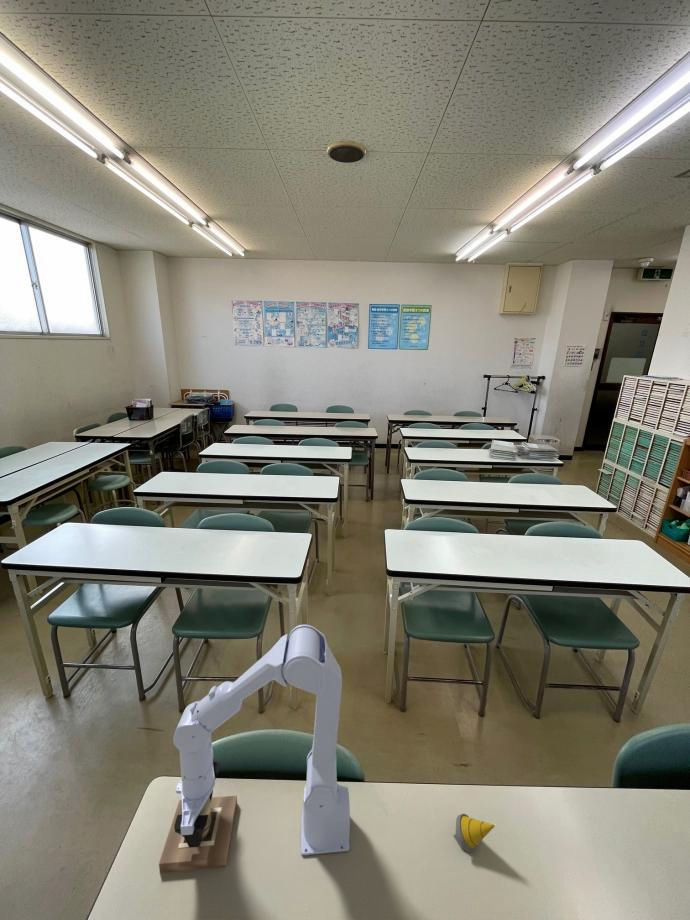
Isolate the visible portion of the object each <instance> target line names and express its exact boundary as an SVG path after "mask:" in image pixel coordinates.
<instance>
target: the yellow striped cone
mask: <svg viewBox="0 0 690 920" xmlns="http://www.w3.org/2000/svg"><path fill="white" fill-rule="evenodd" d="M495 827H496V825H495V824H492V823H489V822H485V821H482V820H479V819H475V818H473V817H470V816H469V815H468V814H466V813H461V814H458V815H457V817H456V820H455V834H453V837H454V839H455V841H456V842H457V844H458V846H459V848H460V850H461V851H465V852H468V853H471V852H474V851H476V850H477V848H478V845H479V844H480V842H481V841H483V839H484V838H485V837H486V836H488V834H489V833H490V832H491V831H492V830H493V829H494V828H495Z"/></svg>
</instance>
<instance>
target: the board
mask: <svg viewBox="0 0 690 920" xmlns="http://www.w3.org/2000/svg"><path fill="white" fill-rule="evenodd" d="M210 806H211V821H214V820H215V821H214V826H213V829H212V830H213V831H212V834H211V838H210V840H206V841H204V842H201V844H200V846H199V847H189V846H188V844H187V842H186V840H185V838H184V837H183V836H182V835H180V834H179V833H176V832H175V827H174V825H175V821H176V818H177V815H182V799H179V800H178V804H177V807H176V810H175V812H174V815H173V819H172V822H171V826H170V828H169V831H168V835H167V837H166V841H165V844H164V846H163V849H162V853H161V857H160V859H159V861H158V862H159V863H158V868H159V873H165V872H167V873H168V872H177V871H178V872H179V871H187V870H188V871H190V870H200V869H210V868H211V869H212V868H221V867H227V862H228V855H229V851H230V846H231V839H232V835H233V830H232V829H233V828H234V824H235V823H234V822H235V818H236V817H235V816H236V811H237V808H238V807H237V806H238V796H237V795H229V796H226V795H225V796H217V797H216V796H212V799H211V802H210Z"/></svg>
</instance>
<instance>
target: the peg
mask: <svg viewBox="0 0 690 920" xmlns="http://www.w3.org/2000/svg"><path fill="white" fill-rule="evenodd" d="M199 815H208V819H207V823H206V826H205V828H204V830H203V834H202V840H201V842H204V841H208V839H209V837H210V834H211V828H210V827H211V823H212V820H211V806H210V797H209V798H208V799H207V801H206V803H205V804H204V806H203V808H202V810H201V811H200V813H199Z"/></svg>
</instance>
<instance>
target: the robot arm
mask: <svg viewBox="0 0 690 920" xmlns="http://www.w3.org/2000/svg"><path fill="white" fill-rule="evenodd" d="M342 678H343V677H342V669H341V666H340V665H339V663H338V662H337V660H336V658H335V656H334V653H333V652H332V651H331V648H330V647H329V644H328V641H327V638H326V636H325V634H324V633H323V632H321V631H320V630H319V629H317V628H316V627H314V626H312V625H310V624H299V625H297V626H295V627H294V628H293V629H291V631H290V632H289V635H288V633H287V634H284V635H282V636H281V637H280V638H279V640H278V641H277V642H276V643H275V644H274V645H273V647H271V649H269V651H267V652H266V653H265V654H264V655H263V656H262V657H261V658H260V659H258V660H257V661H256V662H255V663H254V664H252V666H250V667H249V668H248V669H247V670H246V671H245V672H244V673H243V674H241V676H239V677H238V678H237V679H236V680H234V681H233V682H232V681H228V680H227V681H224V682H222V683H221V684H219V685H218V686H217V685H214V686H212V687H211V688H210V690H209V692H208V694H207V695H206V696H204V697H203V698H202V699H201V700H196V701H194V702H192V703H190V704H188V705H187V706H186V707H185V709H184V710H183V713H182V715H181V717H180V720H179V722H178V723H177V726H176V728H175V731H174V734H173V737H172V743H173V745H174V747H175V748H176V749H178V751H179V763H180V765H179V766H180V774H181V775H180V777H181V779H180V780H179V781H178V782H177V785H176V788H175V793H176V794H177V795H178V794H180V797H181V800H182V815H177V818H176V821H175V825H174V827H175V832H176V833H179V834H180V835H182V836H183V837H184V838H185V840H186V843H187V844H188V846H189V847H199V846H200V844H201V840H202V834H203V830H204V828H205V826H206V823H207V819H208V815H199V813H200V811H201V810H202V808H203V806H204V804H205V803H206V801H207V799H208V798H209V797H210V802H211V799H212V797H213V793H214V788H215V784H216V779H217V778H218V776H219V772H220V768H221V763H220V762H219V761H213V759H214V749H213V745H212V743H213V742H212V741H213V740H212V733H213V732H214V731H215V730H216V729H217V728H219V727H221V726H222V725H223V724H224V723H226V721H229V720H230V719H231V718H232V717H233V716H235V715H236V714H237V713H238V712H240V710H241V709H242V706H243V700H245V699H247V698H248V697H249V696H251V695H252V694H255V692H256V691H257V692H258V690H260V689H261V688H263V687H264V686H265V685H267V684H269V683H271V682H272V681H275V682H277V684H280V685H281V686H283V687H285V688H286V687H288V684H289V685H290V686H293V687H294V688H297V689H300V690H302V691H304V692H308V693H311V694H312V695H316V701H315V702H316V704H315V714H314V715H315V716H314V727H313V741H312V747H311V749H310V751H309V753H308V754H307V756H306V765H307V766H306V779H305V780H306V783H305V786H304V789H303V793H302V794H303V796H302V797H303V799H302V807H303V808H302V809H301V823H300V824H301V826H300V827H301V831H300V833H301V835H300V854H301V855H302V856H309V855H318V854H330V853H341V852H348V851H350V848H351V846H350V832H351V831H350V827H351V811H350V810H351V809H350V794H349V793H350V791H349V787H348V786H346V785H341V784H338V778H337V777H338V776H337V771H338V770H337V763H338V761H337V760H338V758H337V757H338V756H337V754H336V753H337V744H338V732H339V723H340V722H339V721H340V710H341V702H342V700H341V699H342V690H343V689H342V688H343V679H342Z"/></svg>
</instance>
